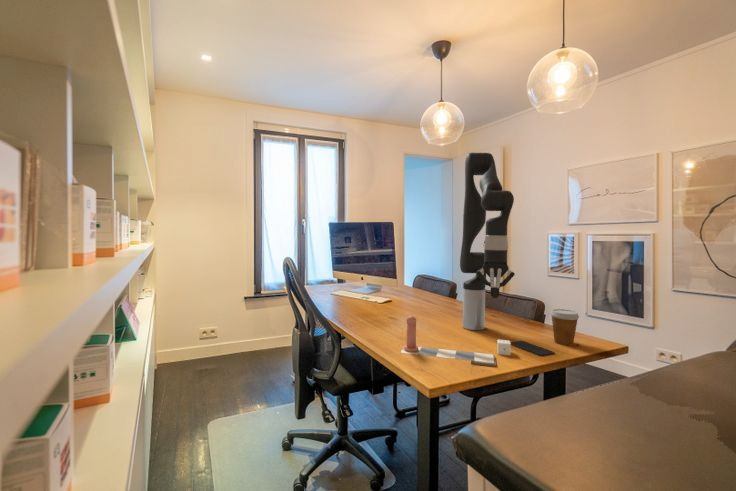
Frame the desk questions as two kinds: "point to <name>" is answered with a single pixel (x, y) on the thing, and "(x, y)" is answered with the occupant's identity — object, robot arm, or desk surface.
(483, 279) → the robot arm
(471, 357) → the board
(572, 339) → the disposable coffee cup
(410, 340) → the pawn
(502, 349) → the die
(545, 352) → the phone
